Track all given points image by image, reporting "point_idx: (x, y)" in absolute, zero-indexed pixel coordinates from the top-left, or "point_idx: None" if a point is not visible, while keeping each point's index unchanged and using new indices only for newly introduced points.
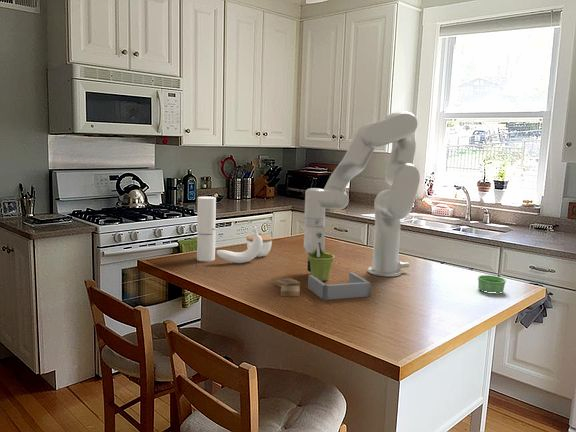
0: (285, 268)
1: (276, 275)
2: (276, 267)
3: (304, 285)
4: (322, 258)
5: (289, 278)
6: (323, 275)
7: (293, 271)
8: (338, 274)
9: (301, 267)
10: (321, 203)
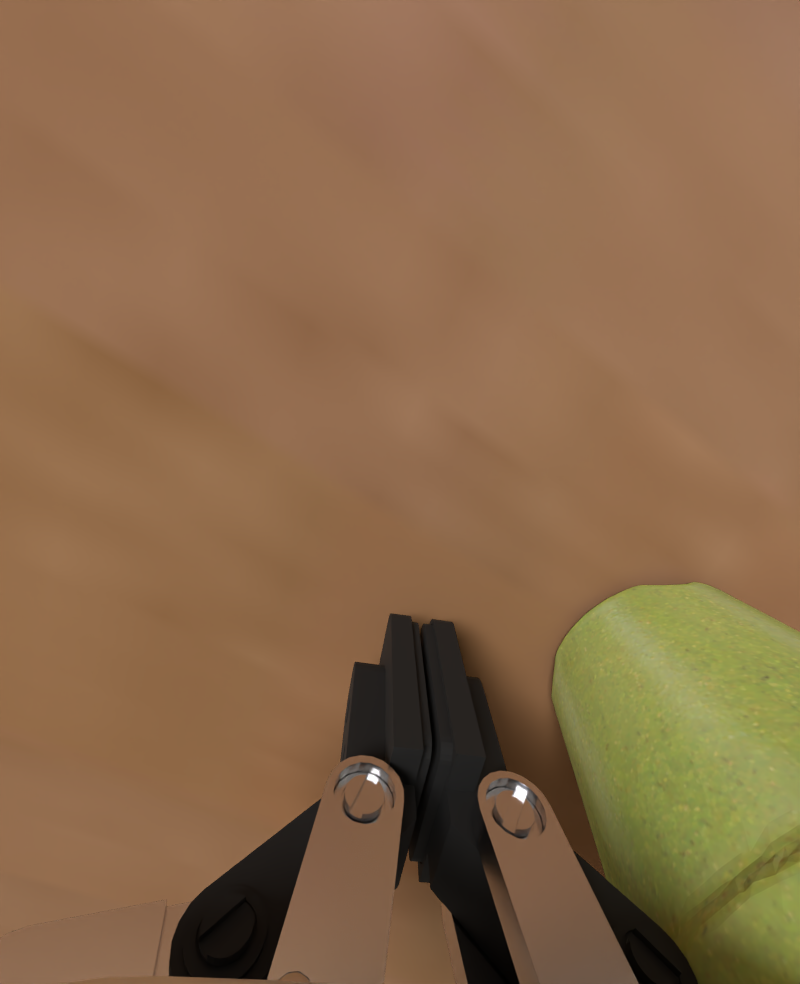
0: (76, 783)
1: None
2: (15, 840)
3: None
4: (767, 869)
5: None
6: None
7: (230, 763)
8: (600, 300)
9: (55, 606)
10: None
